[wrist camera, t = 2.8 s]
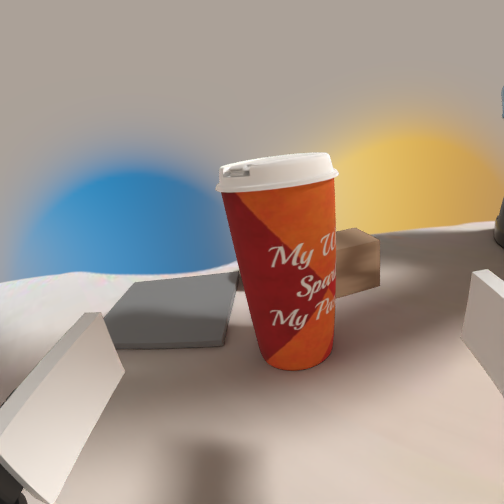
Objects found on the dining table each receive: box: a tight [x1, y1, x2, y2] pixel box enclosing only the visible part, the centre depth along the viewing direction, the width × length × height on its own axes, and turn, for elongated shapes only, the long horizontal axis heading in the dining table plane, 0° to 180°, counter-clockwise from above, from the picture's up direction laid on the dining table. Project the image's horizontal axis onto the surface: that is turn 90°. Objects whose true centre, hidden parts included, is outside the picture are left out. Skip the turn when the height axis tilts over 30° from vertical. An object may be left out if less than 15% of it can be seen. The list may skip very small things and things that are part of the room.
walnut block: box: [335, 228, 380, 298], centre depth 31 cm, size 5×5×5 cm
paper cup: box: [215, 153, 339, 371], centre depth 21 cm, size 8×8×14 cm
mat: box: [103, 271, 240, 349], centre depth 32 cm, size 14×14×1 cm
